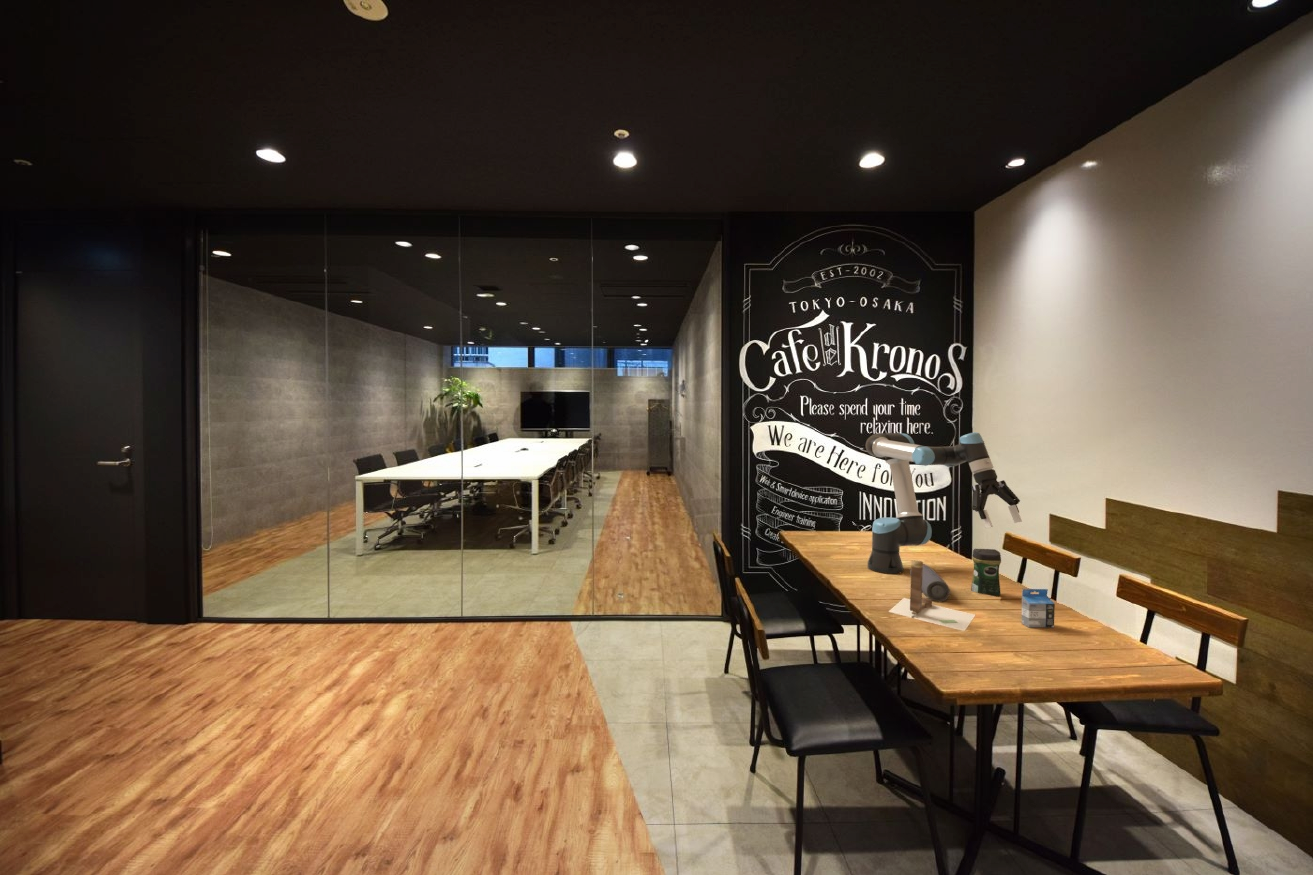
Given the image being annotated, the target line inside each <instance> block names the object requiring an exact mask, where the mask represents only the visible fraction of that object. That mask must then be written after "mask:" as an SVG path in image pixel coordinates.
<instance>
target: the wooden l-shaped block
mask: <svg viewBox="0 0 1313 875" xmlns="http://www.w3.org/2000/svg"><path fill="white" fill-rule="evenodd" d="M923 564H924V562H923V561H922V560H919V559H918V560H916V559H913V560H911V567H910V570H911V575H910V594H909V596H910V598H909V599H910V611H913V612H912V614H913V615H915V614H916V613H919V612H920V611H921V610H922V609H923V608H924V607H926V608H929V607H932V605H933V600H931V599H930V598H928V597H923V592H922V578H923Z"/></svg>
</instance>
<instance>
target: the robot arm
mask: <svg viewBox="0 0 1313 875" xmlns="http://www.w3.org/2000/svg"><path fill="white" fill-rule="evenodd" d="M959 442H960V443H958V444H956V445H953V446H952V445H951V446H925V445H920V444H916V443H915V441H914V440H913V438H912V437H911V436H910V435H909V434H907V433H902V432H890V433H888V432H887V433H886V432H885V433H874V434H872V435H871V436H869V437H868V438H867V439H866V442H865V449H866V452H867V453H868V454H869V455H870V456H872V457H875V458H884V460H885V463H886V464H888V465H889V468H890V474H891V479H892V484H893V490H894V495H895V496H894V497H895V500H896V501H895V502H896V507H897V512H898V514H897V516H896V517H891V516H889V517H886V516H884V517H878V518H877V519H874V521H873V522H872V528H871V529H872V530H871V531H872V535H871V537H872V538H871V539H872V540H871V551H870V552H871V553H870V554H869V558H868V561H867V568H868V570H871V571H873V572H877V573H881V574H886V575H887V574H888V575H892V574H894V575H895V574H897V575H898V574H902V573H903V572H904V565H903V561H902V558H901V555H900V547H908V546H909V547H910V546H914V547H915V546H916V547H917V546H921V545H922V546H923V545H926V544H928V543H929V541H930V539H931V538H932V531H933V530H932V526H931V524H930V523H929V521H928V520H926V519H924V515H923V514H922V513H921V512H919V508H918V507H919V506H918V503H917V498H916V494H915V493H916V492H915V486H914V482H913V481H914V480H913V477H912V476H913V475H912V472H911V471H912V470H911V466H910V462H911V463H912V462H913V463H915V465H917V466H925V467H926V466H945V467H947V468H952V467H956V466H960V465H962V464H964V463H966V462H967V463H968V465H969V469H970V471H971V473H972V474H973V479H974V482H975V483H976V484H974V485H972V486H971V491H972V495H971V496H972V500H971V510H972V511H975V512H977V513H978V515H979V517H980V520H982V522H983V525H984V528H985V529H989V528H993V524H992V521H991V518H990V516H989V513H988V511H987V509H985V507H986V503H987V501H988V500H987V499H988V498H989V496H990V495H995V496H997V497H999V498H1000V499H1001V500H1003V501H1004V502H1005V503H1006V504H1008V510H1009V512H1010V514H1011V517H1012V520H1013V522H1014V523H1015V524H1016V523H1021V522H1023V521H1022V518H1021V515H1020V509H1019V508H1018V504H1019V503H1020V502H1021V500H1020V498H1019V497H1018V496H1017V495H1016V494H1015V493H1014V491H1013V490H1012V489H1011V488H1010V487H1009V486H1008V485H1007V483H1006V480H1000V481H998V480H997V479H998V475H997V473H996V470H995V469H994V466H993V462H992V460H991V458H990V455H989V452H988V449H987V447H986V444H985V441H984V439H983V437H982V435H981V433H980V432H969V433H967V434H964V435H961V436H960V437H959Z"/></svg>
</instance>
